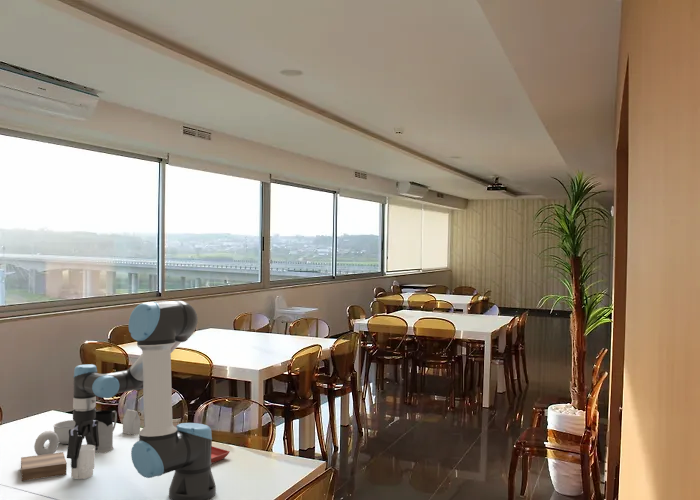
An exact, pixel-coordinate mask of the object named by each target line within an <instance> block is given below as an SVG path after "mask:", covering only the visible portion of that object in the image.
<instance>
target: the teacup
mask: <svg viewBox="0 0 700 500" xmlns="http://www.w3.org/2000/svg"><path fill="white" fill-rule="evenodd" d="M74 427H75V421H74V420H73V419H72V420H71V419H70V420H64V421H59V422H56V423H55V424H54V425H53V432H55V433H56V434H57V436H58V439H59V443H58V444H62V445H68V442H69V429H74ZM78 436H79V435H78Z"/></svg>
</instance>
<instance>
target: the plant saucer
mask: <svg viewBox="0 0 700 500" xmlns="http://www.w3.org/2000/svg"><path fill="white" fill-rule="evenodd" d="M229 454H230V451H229V450H227V449H223V448H219V447H215V446H212V448H211V464H213V463H216V462H220V461H222V460H224V459H225V458H226V457H227V456H228V455H229Z"/></svg>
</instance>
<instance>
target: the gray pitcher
mask: <svg viewBox="0 0 700 500" xmlns="http://www.w3.org/2000/svg"><path fill="white" fill-rule="evenodd" d="M117 415H118V414H117V411H116V410H109V409H107V410H106V409H104V410H103V409H101V410H96V418H95V419H94V420H98V421H99V423H98V435H99V446H98V447H97V448H98V450H95V454H104V453H105V452H106V453H108V452H109V451H110V452H111V451H113V450H114V446H113V445H114V444H113V442H114V440H113V439H114V436H113V435H114V431H115V428H116V425H117V420H118V419H117V418H118V416H117ZM113 417H114V419H113ZM113 420H114V423H113ZM95 443H96V442H95ZM110 452H109V453H110Z"/></svg>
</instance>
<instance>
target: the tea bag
mask: <svg viewBox="0 0 700 500" xmlns="http://www.w3.org/2000/svg"><path fill="white" fill-rule="evenodd" d="M140 431H141V418H140V416H139V412H138V411H137V410H133V409H129V408H127V409H125V413H124V415H123V418H122V434H123V433H124V434H128V435H131V434H132V436H135V435H137V434H138V435H139V432H140ZM134 434H135V435H134Z"/></svg>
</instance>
